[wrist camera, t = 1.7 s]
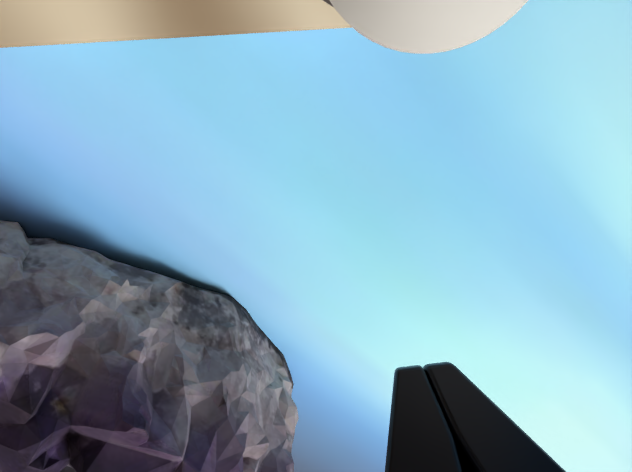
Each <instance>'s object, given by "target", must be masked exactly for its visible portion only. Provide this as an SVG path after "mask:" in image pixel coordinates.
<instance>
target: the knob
mask: <svg viewBox="0 0 632 472" xmlns="http://www.w3.org/2000/svg"><path fill="white" fill-rule="evenodd" d="M329 1H330V2H331V4H332V5H333V7H334V8H335V10H336V11H337V12H338V13H339V14H340V15H341V17H342V18H343V19H344V20H345V21H346V22H347V23H348V24H349V25H350V26H351V27H353V28H354V29H355V30H356V31H357V32H358V33H360V34H361V35H363V36H365V37H366V38H368V39H369V40H371V41H373V42H375V43H377V44H379V45H382V46H384V47H386V48H390V49H393V50H397V51H401V52H408V53H416V54H430V53H438V52H445V51H449V50H453V49H457V48H460V47H463V46H465V45H468V44H470V43H473V42H475V41H477V40H479V39H481V38H483V37H485V36H486V35H488V34H490V33H491V32H493V31H494V30H496V29H497V28H499V27H500V26H502V25H503V24H504V23H505V22H507V21H508V20H509V19H510V18H511V17H512V16H513V15H515V14H516V13H517V12H518V11H519V10H520V9H521V8H522V6H523V5H524V4H525V3H526V2H527V1H528V0H329Z"/></svg>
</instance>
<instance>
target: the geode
mask: <svg viewBox="0 0 632 472" xmlns="http://www.w3.org/2000/svg"><path fill="white" fill-rule="evenodd" d="M292 389H293V381H292V377H291V374H290V371H289V369H288V366H287V363H286V360H285V358H284V355H283V354H282V353H281V352H280V350H279V349H278V348H277V347H276V346H275V345H274V344H273V343H272V342H271V340H270V339H269V338H268V337H267V336H266V335H265V334H264V332H263V331H262V330H261V329H260V328H259V327H258V326H257V324H256V323H255V322H254V320H253V319H252V317H251V316H250V314H249V313H248V312H247V310H246V309H245V308H244V307H242V306H241V305H240V304H239V303H238V302H237V301H236V300H235V299H233V298H232V297H230V296H227V295H224V294H221V293H217V292H214V291H210V290H206V289H203V288H199V287H195V286H192V285H189V284H187V283H185V282H182V281H179V280H176V279H173V278H170V277H167V276H164V275H161V274H158V273H154V272H151V271H147V270H143V269H140V268H136V267H133V266H130V265H127V264H124V263H121V262H118V261H114V260H110V259H108V258H106V257H104V256H103V255H101V254H99V253H98V252H96V251H93V250H89V249H85V248H80V247H76V246H73V245H70V244H67V243H64V242H61V241H58V240H55V239H50V238H27V236H26V234H25V232H24V230H23V229H22V227H21V226H20V225H19V224H18V222H9V221H0V472H294V462H293V459H292V455H291V450H292V443H293V439H294V432H295V426H296V424H297V421H298V419H299V418H298V412H297V407H296V405H295V403H294V402H293V400H292V398H291V393H292Z"/></svg>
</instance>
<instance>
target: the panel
mask: <svg viewBox="0 0 632 472" xmlns="http://www.w3.org/2000/svg"><path fill="white" fill-rule="evenodd" d="M334 28H351V26H350V25H349V24H348V23H347V22H346V21H345V20H344V19H343V18H342V17H341V15H340V14H339V13H338V12H337V11H336V10H335V8H334V7H333V5H332V4H331V2H330V1H329V0H0V48H3V47H21V46H38V45H55V44H73V43H90V42H108V41H125V40H142V39H160V38H177V37H194V36H212V35H229V34H247V33H264V32H281V31H299V30H316V29H334Z"/></svg>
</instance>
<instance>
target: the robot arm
mask: <svg viewBox="0 0 632 472" xmlns="http://www.w3.org/2000/svg"><path fill="white" fill-rule="evenodd" d="M385 472H566V471H565V470H564V469H563V468H561V467H560V466H559V465H558V464H557V463H556V462H555V461H554V460H553V459H552V458H551V457H550V456H549V455H548V454H547V453H546V452H545V451H544V450H543V449H542V448H541V447H539V446H538V445H537V444H536V443H535V442H534V441H533V440H532V439H531V438H530V437H529V436H528V435H527V434H526V433H525V432H524V431H523V430H522V429H521V428H520V427H519V426H517V425H516V424H515V423H514V422H513V421H512V420H511V419H510V418H509V417H508V416H507V415H506V414H505V413H504V412H503V411H502V410H501V409H500V408H499V407H498V406H497V405H495V404H494V403H493V402H492V401H491V400H490V399H489V398H488V397H487V396H486V395H485V394H484V393H483V392H482V391H481V390H480V389H479V388H478V387H477V386H476V385H475V384H473V383H472V382H471V381H470V380H469V379H468V378H467V377H466V376H465V375H464V374H463V373H462V372H461V371H460V370H459V369H458V368H457V367H456V366H455V365H453V364H452V363H449V362H442V363H433V364H427V365H425V366H424V367H423V368H422V367H421V366H419V365H416V366H407V367H399V368H397V369H396V370H395V374H394V384H393V394H392V404H391V414H390V425H389V435H388V445H387V456H386V466H385Z"/></svg>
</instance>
